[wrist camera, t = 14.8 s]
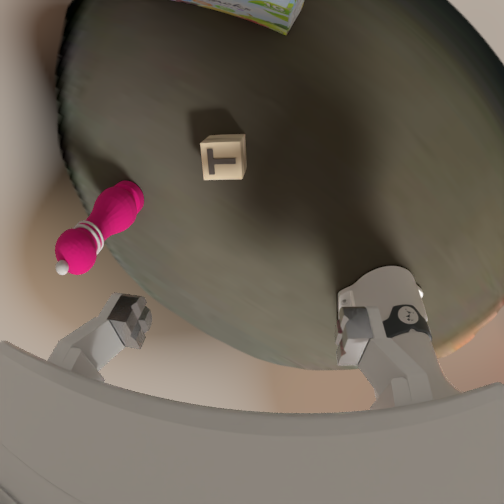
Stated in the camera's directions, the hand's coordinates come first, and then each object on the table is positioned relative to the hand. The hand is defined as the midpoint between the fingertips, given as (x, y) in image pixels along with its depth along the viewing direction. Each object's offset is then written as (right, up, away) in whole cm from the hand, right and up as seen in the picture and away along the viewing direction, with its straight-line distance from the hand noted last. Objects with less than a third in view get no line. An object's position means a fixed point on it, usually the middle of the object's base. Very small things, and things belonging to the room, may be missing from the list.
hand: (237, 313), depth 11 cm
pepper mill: (-20, +12, +31) cm, 39 cm away
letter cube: (-3, +17, +26) cm, 31 cm away
